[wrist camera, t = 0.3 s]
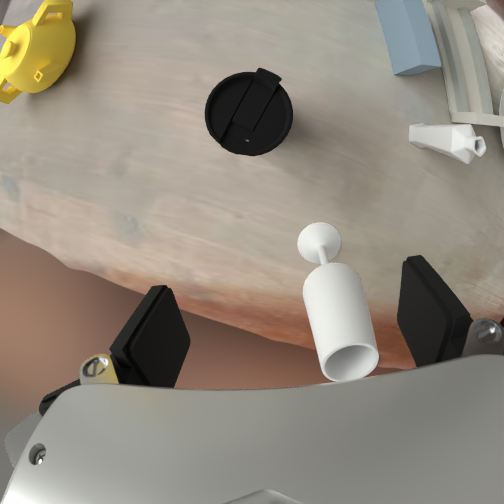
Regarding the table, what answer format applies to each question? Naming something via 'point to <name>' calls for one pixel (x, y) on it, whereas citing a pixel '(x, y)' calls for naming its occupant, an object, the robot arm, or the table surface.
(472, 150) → the perfume bottle
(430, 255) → the table surface
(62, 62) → the teapot
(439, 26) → the track frame
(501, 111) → the plate
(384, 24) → the door panel
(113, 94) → the table surface
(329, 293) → the champagne flute
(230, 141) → the travel mug
